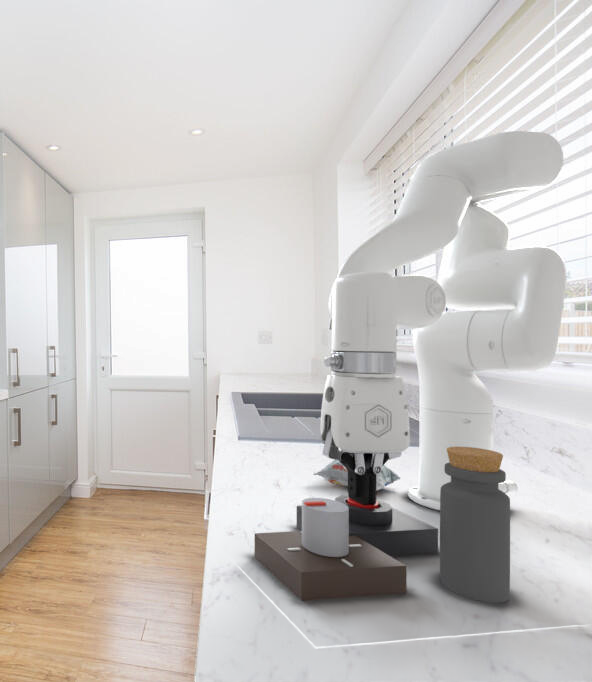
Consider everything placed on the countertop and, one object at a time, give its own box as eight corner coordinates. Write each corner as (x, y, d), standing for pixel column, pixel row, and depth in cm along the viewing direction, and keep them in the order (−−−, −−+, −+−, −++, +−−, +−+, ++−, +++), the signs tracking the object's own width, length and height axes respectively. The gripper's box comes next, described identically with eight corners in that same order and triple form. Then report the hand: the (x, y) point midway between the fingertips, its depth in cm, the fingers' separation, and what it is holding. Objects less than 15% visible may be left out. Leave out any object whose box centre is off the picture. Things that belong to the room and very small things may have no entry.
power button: (365, 508, 66) (365, 496, 66) (385, 518, 62) (385, 505, 62) (341, 509, 66) (341, 497, 66) (359, 519, 62) (360, 506, 62)
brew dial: (330, 538, 57) (331, 494, 57) (358, 556, 53) (358, 508, 53) (293, 539, 57) (293, 495, 57) (317, 558, 52) (318, 510, 52)
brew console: (343, 552, 60) (343, 527, 60) (406, 593, 51) (406, 564, 50) (254, 557, 59) (254, 531, 59) (301, 601, 49) (301, 570, 49)
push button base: (378, 523, 70) (379, 489, 70) (438, 554, 60) (438, 514, 60) (296, 527, 68) (296, 493, 68) (343, 559, 58) (343, 519, 58)
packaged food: (384, 500, 80) (384, 471, 80) (312, 484, 89) (312, 457, 89) (401, 490, 85) (401, 463, 85) (331, 476, 94) (331, 451, 94)
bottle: (426, 576, 54) (427, 445, 54) (473, 574, 55) (474, 444, 55) (473, 605, 48) (473, 458, 48) (525, 602, 49) (526, 457, 49)
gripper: (329, 366, 59) (328, 513, 59) (437, 367, 61) (435, 509, 61) (295, 363, 67) (293, 494, 67) (391, 364, 69) (390, 491, 69)
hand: (361, 501), depth 64 cm, fingers closed
